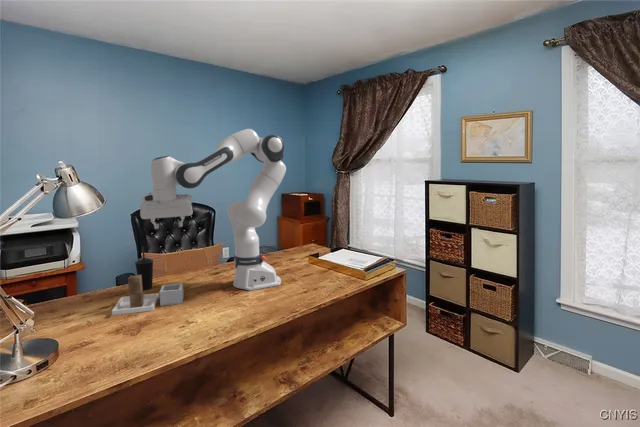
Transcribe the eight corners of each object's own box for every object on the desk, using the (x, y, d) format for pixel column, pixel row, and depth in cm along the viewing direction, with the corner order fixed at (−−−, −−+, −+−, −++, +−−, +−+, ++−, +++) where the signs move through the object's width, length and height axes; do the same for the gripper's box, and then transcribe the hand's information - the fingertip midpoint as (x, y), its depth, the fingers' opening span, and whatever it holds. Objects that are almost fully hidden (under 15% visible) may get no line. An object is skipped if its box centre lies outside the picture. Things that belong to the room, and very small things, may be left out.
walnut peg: (143, 303, 139) (141, 274, 137) (141, 306, 135) (139, 277, 133) (132, 304, 138) (130, 275, 136) (130, 308, 134) (127, 278, 132)
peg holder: (183, 297, 146) (182, 283, 145) (182, 305, 139) (181, 289, 138) (163, 300, 144) (162, 285, 143) (160, 307, 136) (159, 292, 135)
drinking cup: (148, 293, 151) (144, 249, 148) (133, 292, 153) (129, 248, 150) (159, 287, 158) (156, 245, 155) (144, 286, 160) (141, 244, 157)
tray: (158, 298, 145) (158, 293, 145) (153, 312, 132) (152, 306, 132) (121, 302, 141) (121, 297, 141) (112, 317, 128) (111, 311, 128)
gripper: (192, 193, 150) (195, 224, 152) (140, 196, 144) (144, 228, 146) (191, 194, 144) (194, 226, 146) (137, 197, 138) (141, 231, 140)
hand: (168, 227), depth 146 cm, fingers open, 8 cm apart
